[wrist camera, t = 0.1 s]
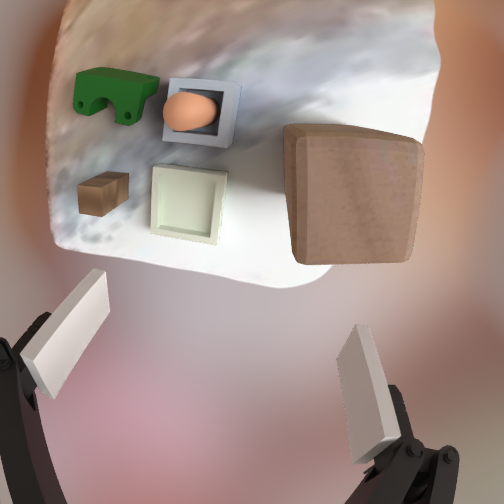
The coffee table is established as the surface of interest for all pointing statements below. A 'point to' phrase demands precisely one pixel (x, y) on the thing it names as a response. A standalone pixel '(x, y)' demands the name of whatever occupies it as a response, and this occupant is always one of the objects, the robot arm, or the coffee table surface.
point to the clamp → (113, 92)
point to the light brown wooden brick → (103, 193)
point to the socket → (223, 127)
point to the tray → (187, 202)
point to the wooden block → (351, 193)
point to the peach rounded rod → (190, 111)
